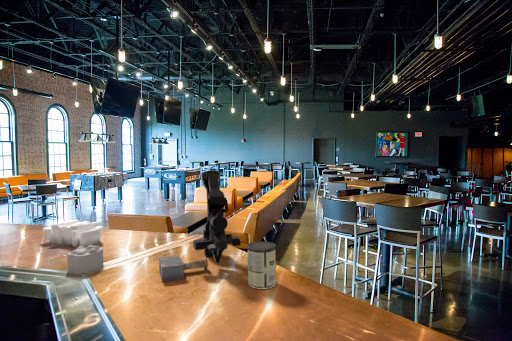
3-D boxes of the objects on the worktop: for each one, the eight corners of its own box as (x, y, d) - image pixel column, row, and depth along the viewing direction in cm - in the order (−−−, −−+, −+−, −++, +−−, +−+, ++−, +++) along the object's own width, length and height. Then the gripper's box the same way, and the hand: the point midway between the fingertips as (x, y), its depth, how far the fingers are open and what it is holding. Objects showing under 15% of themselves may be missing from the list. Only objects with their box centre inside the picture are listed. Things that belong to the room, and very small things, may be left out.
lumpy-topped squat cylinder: (64, 271, 127) (63, 250, 126) (92, 261, 138) (92, 241, 138) (81, 275, 122) (81, 253, 122) (109, 264, 134) (109, 244, 134)
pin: (205, 266, 130) (205, 255, 130) (207, 270, 126) (207, 259, 125) (172, 271, 125) (172, 259, 125) (174, 275, 121) (174, 263, 121)
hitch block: (179, 267, 130) (179, 255, 129) (183, 278, 119) (183, 264, 118) (158, 270, 127) (158, 257, 126) (161, 281, 116) (161, 267, 115)
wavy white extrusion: (110, 242, 169) (110, 223, 168) (82, 251, 154) (81, 229, 153) (68, 235, 184) (68, 217, 183) (39, 242, 169) (38, 223, 169)
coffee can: (253, 277, 120) (252, 240, 119) (279, 280, 116) (279, 242, 116) (243, 287, 110) (242, 247, 109) (271, 291, 107) (271, 250, 106)
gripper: (198, 232, 118) (198, 273, 119) (245, 227, 125) (245, 266, 125) (192, 226, 128) (193, 263, 129) (236, 222, 135) (236, 258, 136)
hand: (217, 263), depth 129 cm, fingers closed
